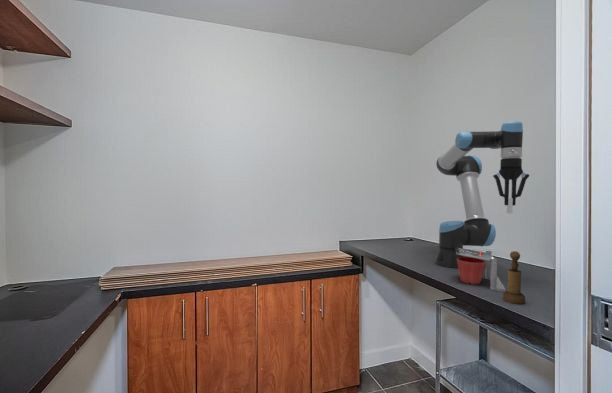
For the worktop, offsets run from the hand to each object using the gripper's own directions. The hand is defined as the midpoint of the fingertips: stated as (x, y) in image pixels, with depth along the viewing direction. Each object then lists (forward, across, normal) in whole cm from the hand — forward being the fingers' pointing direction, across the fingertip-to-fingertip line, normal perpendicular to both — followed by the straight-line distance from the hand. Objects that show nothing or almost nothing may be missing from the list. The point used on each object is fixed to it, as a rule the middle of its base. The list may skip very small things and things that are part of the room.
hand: (509, 213), depth 128 cm
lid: (+19, -13, -5) cm, 24 cm away
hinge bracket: (+30, -5, -5) cm, 31 cm away
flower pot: (+31, -14, -5) cm, 34 cm away
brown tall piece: (+31, -2, -24) cm, 39 cm away
